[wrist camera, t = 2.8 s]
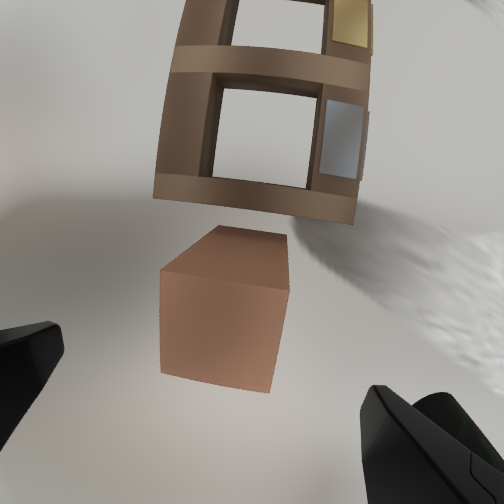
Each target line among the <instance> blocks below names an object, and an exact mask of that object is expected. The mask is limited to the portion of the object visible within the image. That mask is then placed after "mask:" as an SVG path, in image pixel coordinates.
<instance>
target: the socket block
mask: <svg viewBox="0 0 504 504" xmlns="http://www.w3.org/2000/svg"><path fill="white" fill-rule="evenodd" d="M292 1H300V2H307V3H314V4H321V5H325V8H324V24H323V37H322V49H321V54H315V53H308V52H301V51H293V50H285V49H275V48H265V47H250V46H231V42H232V36H233V30H234V25H235V20H236V14H237V10H238V5H239V0H186V3H185V7H184V11H183V14H182V18H181V22H180V27H179V31H178V35H177V39H176V44H175V48H174V54H173V58H172V63H171V68H170V73H169V78H168V84H167V90H166V96H165V102H164V108H163V114H162V121H161V128H160V136H159V143H158V152H157V160H156V170H155V180H154V191H153V198H155V199H164V200H175V201H183V202H192V203H201V204H210V205H217V206H225V207H233V208H241V209H249V210H256V211H263V212H270V213H278V214H284V215H291V216H298V217H305V218H311V219H317V220H324V221H330V222H336V223H342V224H348V225H353V221H354V215H355V209H356V203H357V196H358V189H359V182H360V181H362V175H363V168H364V160H365V151H366V142H367V133H368V122H369V111H368V100H369V84H370V64H371V56H372V54H373V4H371V0H292ZM224 88H228V89H244V90H256V91H266V92H276V93H284V94H292V95H299V96H306V97H312V98H317V102H316V111H315V120H314V129H313V137H312V145H311V153H310V161H309V169H308V176H307V183H306V189H305V188H298V187H291V186H284V185H277V184H270V183H263V182H255V181H247V180H238V179H230V178H221V177H212V174H213V165H214V157H215V149H216V141H217V134H218V126H219V119H220V111H221V104H222V98H223V91H224Z"/></svg>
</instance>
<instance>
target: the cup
mask: <svg viewBox="0 0 504 504" xmlns="http://www.w3.org/2000/svg"><path fill="white" fill-rule="evenodd" d="M412 406H413V407H414V408H415V409H416V410H418V411H419V412H420V413H422V414H423V415H424V416H425V417H427V418H428V419H429V420H431V421H432V422H433V423H435V424H436V425H437V426H438V427H440V428H441V429H442V430H444V431H445V432H446V433H448V434H449V435H450V436H452V437H453V438H454V439H455V440H457V441H458V442H459V443H461V444H462V445H463V446H465V447H466V448H467V449H469V450H470V453H471V452H473V453H474V454H475V455H477V456H478V457H479V458H481V459H482V460H484V461H485V462H486V463H488V464H489V465H491V466H492V467H493V468H495V469H497V470H498V471H500V472H501V473H503V474H504V460H503V459H502V457H501V456H500V455H499V453H498V452H497V451H496V449H495V448H494V447H493V446H492V444H491V443H490V442H489V440H488V439H487V438H486V437H485V435H484V434H483V433H482V431H481V430H480V429H479V428H478V426H477V425H476V424H475V423H474V421H473V420H472V419H471V418H470V417H469V415H468V414H467V413H466V412H465V410H464V409H463V408H462V407H461V406H460V405H459V403H458V402H457V401H456V400H455V399H454V397H453V396H452V395H451V394H449V393H446V392H438V393H434V394H431V395H428V396H426V397H424V398H422V399H420V400H419V401H417V402H416V403H414V404H413V405H412Z"/></svg>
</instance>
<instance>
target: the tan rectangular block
mask: <svg viewBox="0 0 504 504" xmlns="http://www.w3.org/2000/svg"><path fill="white" fill-rule="evenodd" d="M288 269H289V268H288V250H287V235H285V234H278V233H271V232H264V231H257V230H250V229H242V228H235V227H227V226H220V225H219V226H217V227H216V228H215V229H213V230H212V231H211V232H209V233H208V234H207V235H205V236H204V237H203V238H201V239H200V240H199V241H197V242H196V243H195V244H193V245H192V246H191V247H190V248H188V249H187V250H186V251H184V252H183V253H182V254H180V255H179V256H178V257H177V258H175V259H174V260H173V261H171V262H170V263H169V264H168V265H166V266H165V267H164V268H162V270H160V362H161V373H165V374H169V375H173V376H178V377H182V378H186V379H190V380H195V381H200V382H205V383H210V384H215V385H220V386H226V387H231V388H237V389H243V390H249V391H256V392H263V393H270V388H271V384H272V379H273V374H274V369H275V364H276V359H277V354H278V349H279V344H280V339H281V334H282V329H283V323H284V318H285V313H286V307H287V302H288V296H289V291H290V290H289V270H288Z"/></svg>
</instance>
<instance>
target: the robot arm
mask: <svg viewBox="0 0 504 504" xmlns="http://www.w3.org/2000/svg"><path fill="white" fill-rule="evenodd" d="M63 353H64V343H63V338H62V332H61V328H60V326H59V325H58V324H56V323H53V322H51V321H46V322H41V323H35V324H31V325H25V326H20V327H16V328H10V329H4V330H0V451H1V450H2V448H3V447H4V445H5V444H6V442H7V440H8V439H9V437H10V436H11V434H12V433H13V431H14V430H15V428H16V427H17V425H18V424H19V422H20V421H21V419H22V418H23V416H24V415H25V413H26V412H27V411H28V409H29V408H30V406H31V405H32V403H33V402H34V401H35V399H36V398H37V396H38V395H39V394H40V392H41V391H42V389H43V388H44V386H45V384H46V382H47V380H48V379H49V377H50V376H51V374H52V372H53V370H54V369H55V367H56V365H57V364H58V362H59V360H60V359H61V357H62V356H63ZM360 427H361V451H362V464H363V472H364V478H365V485H366V492H367V499H368V504H504V474H503V473H501V472H500V471H498V470H497V469H495V468H493V467H492V466H491V465H489V464H488V463H486V462H485V461H484V460H482V459H481V458H479V457H478V456H477V455H475V454H474V453H473V452H471V453H470V450H469V449H467V448H466V447H465V446H463V445H462V444H461V443H459V442H458V441H457V440H455V439H454V438H453V437H452V436H450V435H449V434H448V433H446V432H445V431H444V430H442V429H441V428H440V427H438V426H437V425H436V424H435V423H433V422H432V421H431V420H429V419H428V418H427V417H425V416H424V415H423V414H422V413H420V412H419V411H418V410H416V409H415V408H414V407H413V406H411V405H410V404H409V403H407V402H406V401H405V400H403V399H402V398H401V397H400V396H398V395H397V394H396V393H395V392H393V391H392V390H391V389H390V388H388V387H387V386H385V385H372V386H371V387H370V388H369V390H368V392H367V395H366V397H365V400H364V402H363V404H362V406H361V409H360Z"/></svg>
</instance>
